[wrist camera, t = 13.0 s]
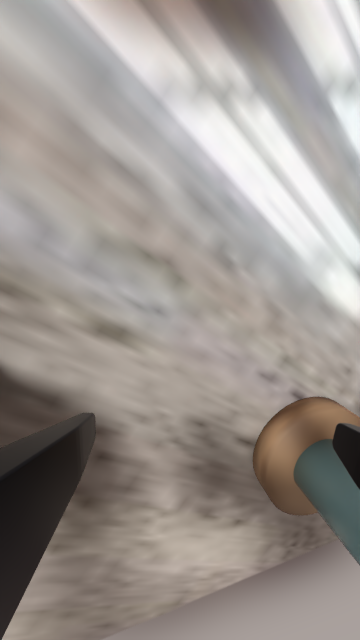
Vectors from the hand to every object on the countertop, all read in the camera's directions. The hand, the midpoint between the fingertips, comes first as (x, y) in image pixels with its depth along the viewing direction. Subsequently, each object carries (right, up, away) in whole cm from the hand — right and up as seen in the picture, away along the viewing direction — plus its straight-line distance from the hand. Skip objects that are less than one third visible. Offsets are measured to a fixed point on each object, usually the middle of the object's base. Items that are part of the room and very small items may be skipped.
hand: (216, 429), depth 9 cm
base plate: (+12, -10, +18) cm, 24 cm away
